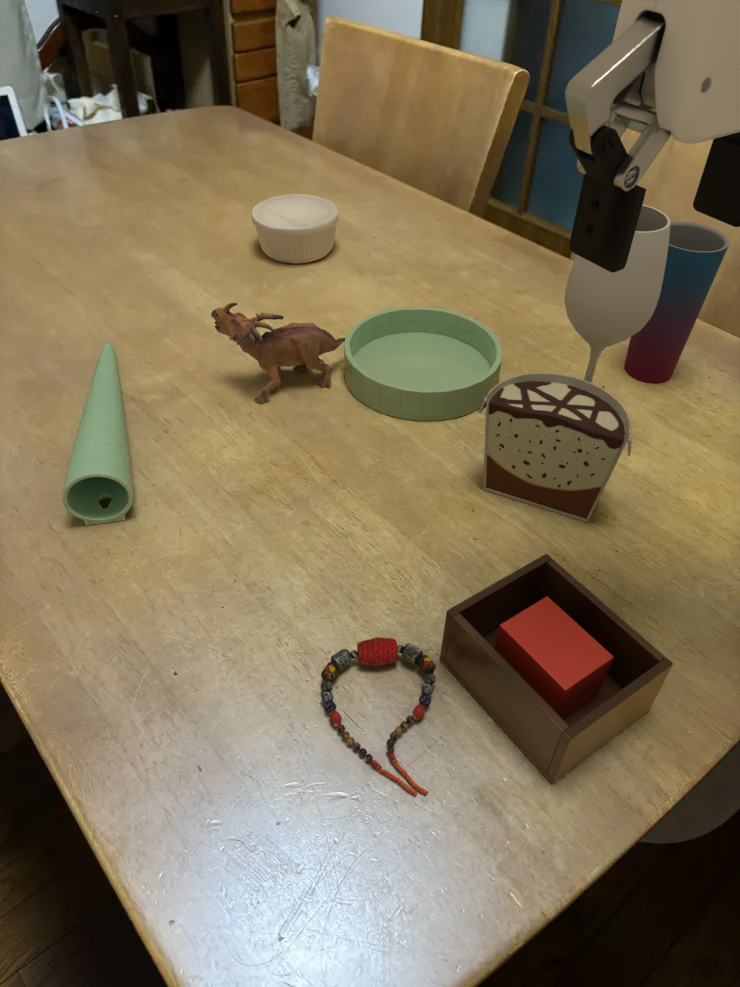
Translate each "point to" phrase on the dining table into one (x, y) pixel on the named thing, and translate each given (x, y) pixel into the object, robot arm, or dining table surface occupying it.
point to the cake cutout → (552, 441)
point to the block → (554, 656)
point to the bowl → (421, 363)
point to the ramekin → (296, 227)
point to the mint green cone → (100, 450)
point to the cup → (677, 300)
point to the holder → (515, 700)
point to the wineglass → (619, 289)
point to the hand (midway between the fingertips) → (660, 238)
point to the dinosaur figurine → (278, 344)
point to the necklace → (377, 655)
